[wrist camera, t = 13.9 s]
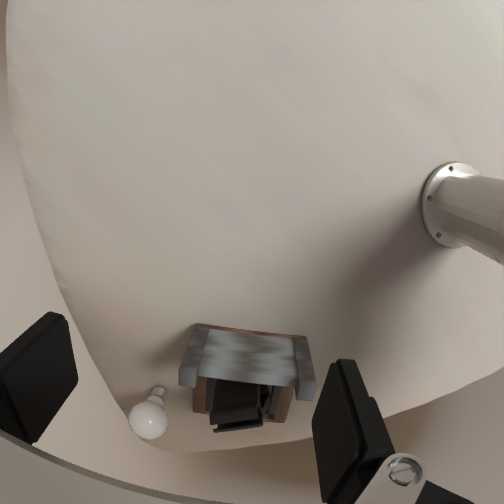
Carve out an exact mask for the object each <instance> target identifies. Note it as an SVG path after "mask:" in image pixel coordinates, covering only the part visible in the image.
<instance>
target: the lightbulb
mask: <svg viewBox="0 0 504 504" xmlns="http://www.w3.org/2000/svg"><path fill="white" fill-rule="evenodd" d="M166 396H167V392H166V391H165V389H163V388H161V387H154V388H153V390H152V392H151V394H150V396H149V397H148V398H147V399H146V400H145V401H143V402H140V403H137V404H136V405H134V406H133V407H132V409H131V410H130V412H129V416H128V422H129V426H130V428H131V430H132V431H133V432H134V433H135V434H136V435H137V436H139V437H141V438H143V439H147V440H153V439H157V438H159V437H161V436H162V435H163V434H164V433H165V432H166V430H167V427H168V417H167V414H166V412H165V410H164V402H165V399H166Z"/></svg>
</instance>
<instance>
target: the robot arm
mask: <svg viewBox="0 0 504 504" xmlns="http://www.w3.org/2000/svg"><path fill="white" fill-rule="evenodd" d="M427 197H428V199H427ZM422 216H423V220H424V224H425V226H426V228H427V231H428V232H429V234H430V235H431V236H432V237H433V238H434V239H435V240H436V241H437V242H439V243H440V244H442V245H444V246H446V247H450V248H460V247H463V246H466V245H467V246H468V247H470V248H472V249H474V250H476V251H478V252H480V253H481V254H483V255H485V256H487V257H489V258H491V259H492V260H494V261H496V262H498V263H499V264H501V265H503V266H504V180H501V179H495V178H490V177H484V176H482V175H481V174H480V173H479V172H478V170H476V169H475V168H474V167H473V166H471V165H469V164H467V163H463V162H449V163H446V164H444V165H442V166H440V167H439V168H438V169H436V170H435V171H434V173H433V174H432V175H431V176H430V178H429V180H428V181H427V183H426V186H425V189H424V192H423V197H422ZM77 383H78V374H77V369H76V364H75V359H74V354H73V349H72V344H71V338H70V332H69V326H68V322H67V320H65V317H64V316H63V315H61V314H58V313H54V312H47V313H46V314H45V315H44V316H43V317H41V318H40V319H39V320H38V321H37V322H36V323H34V324H33V325H32V326H31V327H30V328H28V329H27V330H26V331H25V332H24V333H23V334H21V336H19V337H18V338H17V339H16V340H15V341H14V342H13V343H11V344H10V345H9V346H8V347H7V348H6V349H5V350H3V352H1V353H0V504H231V503H223V502H216V501H208V500H202V499H196V498H190V497H186V496H180V495H175V494H171V493H166V492H162V491H158V490H153V489H149V488H145V487H142V486H138V485H134V484H131V483H127V482H124V481H120V480H117V479H114V478H111V477H108V476H105V475H102V474H99V473H96V472H93V471H91V470H88V469H85V468H82V467H80V466H77V465H75V464H72V463H69V462H67V461H65V460H62V459H60V458H58V457H55V456H53V455H51V454H48V453H46V452H44V451H42V450H40V449H38V448H35V447H34V446H32V444H33V443H35V442H37V441H38V440H39V438H40V437H41V435H42V434H43V432H44V431H45V429H46V428H47V426H48V425H49V423H50V422H51V420H52V419H53V417H54V416H55V415H56V413H57V412H58V410H59V409H60V407H61V406H62V405H63V403H64V402H65V400H66V399H67V398H68V396H69V395H70V394H71V392H72V391H73V389H74V388H75V387H76V385H77ZM312 432H313V439H314V445H315V453H316V460H317V466H318V475H319V483H320V491H321V498H322V502H323V503H327V504H474V503H473V502H471V501H469V500H467V499H465V498H463V497H461V496H459V495H456V494H454V493H452V492H450V491H448V490H446V489H444V488H441V487H439V486H437V485H435V484H433V483H431V482H429V481H427V480H426V479H427V469H426V467H425V465H424V463H423V462H422V461H421V460H420V459H418V458H417V457H415V456H413V455H410V454H407V453H398V454H396V453H395V450H394V447H393V445H392V442H391V439H390V437H389V434H388V431H387V429H386V426H385V423H384V421H383V418H382V416H381V413H380V411H379V408H378V405H377V403H376V401H375V399H374V398H373V397H369V395H368V392H367V390H366V387H365V385H364V382H363V379H362V377H361V374H360V372H359V369H358V367H357V364H356V362H355V360H350V359H337V361H336V363H331V365H330V367H329V370H328V374H327V377H326V380H325V383H324V386H323V389H322V392H321V395H320V398H319V401H318V404H317V406H316V409H315V412H314V415H313V418H312Z"/></svg>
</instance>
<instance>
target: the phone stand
mask: <svg viewBox="0 0 504 504" xmlns="http://www.w3.org/2000/svg"><path fill="white" fill-rule="evenodd" d="M271 404H272V398H271V395H270V392H269V389H268V385H265V384H256V383H247V382H239V381H231V380H224V379H217V378H216V385H215V394H214V403H213V408H212V410H211V412H210V425H215V424H218V427H217V429H213V431H214V432H215V433H218V432H226V431H234V430H241V429H248V428H254V427H260V426H263V418H264V415H265V414H266V412H267V410H268V409H269V407H270V405H271Z"/></svg>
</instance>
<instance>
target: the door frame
mask: <svg viewBox="0 0 504 504" xmlns="http://www.w3.org/2000/svg"><path fill="white" fill-rule="evenodd" d="M216 378H217V379H224V380H231V381H239V382H247V383H256V384H265V385H268V389H269V392H270V395H271V398H272V404H271V405H270V407H269V409H268V410H267V412H266V414H265V415H264V418H263V421H266V422H278V423H284V422H285V418H286V415H287V412H288V408H289V405H290V401H291V397H292V394H293V390H294V387H295V395H296V400H304V401H312V400H313V397H314V394H315V391H316V388H317V384H316V379H315V374H314V369H313V364H312V360H311V355H310V350H309V345H308V341H307V338H306V337H304V336H294V335H284V334H275V333H266V332H258V331H249V330H242V329H234V328H227V327H220V326H213V325H206V324H200V323H197V324H196V326H195V329H194V331H193V334H192V336H191V339H190V342H189V344H188V347H187V349H186V352H185V355H184V357H183V360H182V363H181V365H180V368H179V385H180V386H186V387H192V388H194V392H193V412H196V413H202V414H209V415H210V412H211V410H212V408H213V403H214V394H215V385H216Z"/></svg>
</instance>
